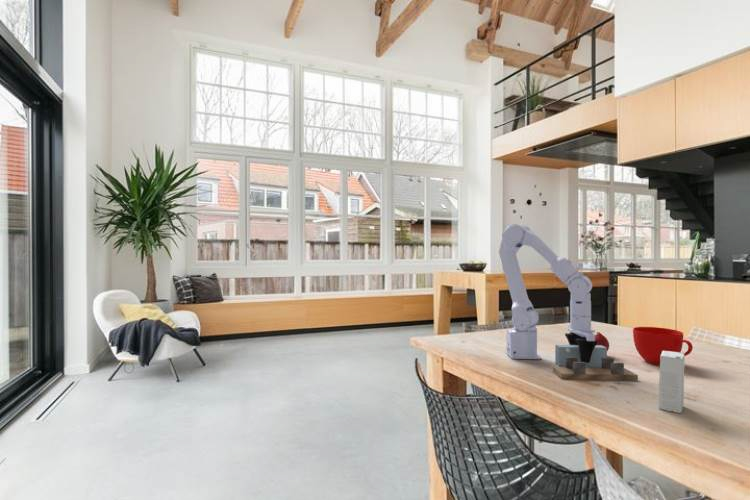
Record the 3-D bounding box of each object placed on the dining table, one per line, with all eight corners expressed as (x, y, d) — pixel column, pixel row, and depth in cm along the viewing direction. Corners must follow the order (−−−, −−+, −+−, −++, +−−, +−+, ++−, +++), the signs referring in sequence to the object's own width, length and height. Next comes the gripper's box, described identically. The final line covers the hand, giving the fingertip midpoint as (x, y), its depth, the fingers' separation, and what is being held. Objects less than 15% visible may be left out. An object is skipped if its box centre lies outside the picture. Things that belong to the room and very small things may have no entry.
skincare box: (660, 401, 93) (660, 349, 93) (685, 406, 90) (684, 352, 90) (658, 409, 88) (657, 354, 88) (683, 414, 86) (683, 358, 86)
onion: (604, 353, 136) (604, 330, 136) (612, 358, 131) (612, 333, 131) (586, 353, 137) (586, 329, 137) (594, 357, 131) (593, 333, 131)
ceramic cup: (674, 374, 114) (674, 339, 114) (623, 358, 130) (623, 327, 130) (708, 370, 117) (708, 336, 117) (654, 355, 133) (653, 325, 133)
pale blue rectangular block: (560, 367, 121) (560, 347, 121) (555, 363, 125) (555, 344, 125) (608, 368, 120) (608, 348, 120) (601, 364, 124) (601, 345, 124)
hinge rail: (561, 378, 109) (561, 362, 109) (553, 371, 116) (552, 356, 116) (637, 380, 108) (637, 364, 108) (625, 373, 114) (624, 357, 114)
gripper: (605, 319, 115) (605, 366, 115) (583, 311, 130) (583, 353, 130) (580, 319, 116) (580, 366, 116) (561, 311, 130) (561, 353, 130)
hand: (580, 359), depth 123 cm, fingers open, 6 cm apart
